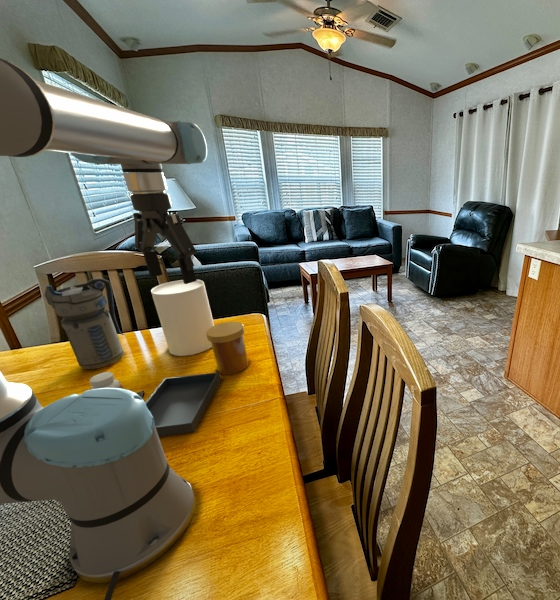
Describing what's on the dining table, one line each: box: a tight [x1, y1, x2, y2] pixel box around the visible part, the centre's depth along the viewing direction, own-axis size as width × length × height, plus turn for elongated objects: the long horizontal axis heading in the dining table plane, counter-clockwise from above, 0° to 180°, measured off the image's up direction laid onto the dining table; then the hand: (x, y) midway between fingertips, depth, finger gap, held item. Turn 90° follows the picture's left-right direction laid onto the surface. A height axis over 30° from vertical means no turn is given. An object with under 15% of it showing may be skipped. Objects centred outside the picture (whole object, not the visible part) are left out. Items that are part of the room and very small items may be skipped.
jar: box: [211, 334, 250, 375], centre depth 92 cm, size 8×8×12 cm
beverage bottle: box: [43, 277, 125, 370], centre depth 92 cm, size 10×13×25 cm
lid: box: [206, 321, 245, 343], centre depth 90 cm, size 9×9×2 cm
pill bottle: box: [89, 371, 124, 390], centre depth 74 cm, size 5×5×10 cm
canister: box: [150, 279, 215, 357], centre depth 102 cm, size 14×14×20 cm
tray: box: [144, 371, 222, 438], centre depth 77 cm, size 19×13×2 cm
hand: (173, 279), depth 84 cm, fingers open, 13 cm apart
